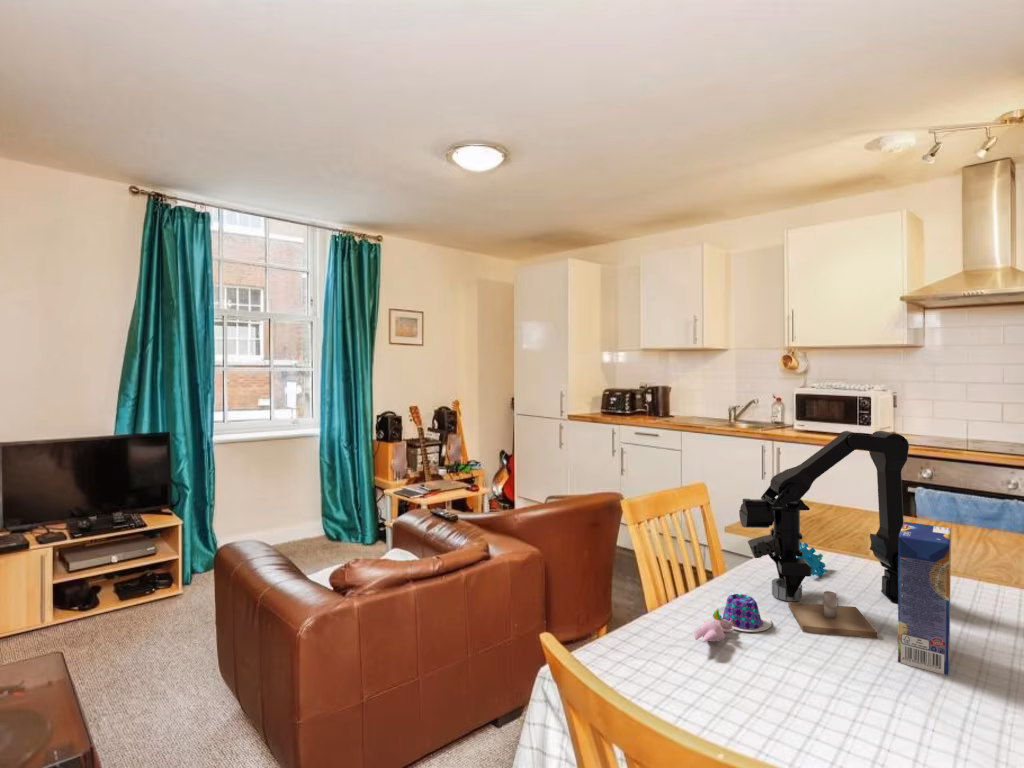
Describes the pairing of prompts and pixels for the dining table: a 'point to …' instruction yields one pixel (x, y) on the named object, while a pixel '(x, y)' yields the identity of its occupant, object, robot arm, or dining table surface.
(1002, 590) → the dining table surface
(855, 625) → the shaft stand
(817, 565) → the gear
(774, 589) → the hub ring
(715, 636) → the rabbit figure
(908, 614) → the juice carton
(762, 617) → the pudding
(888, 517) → the robot arm
